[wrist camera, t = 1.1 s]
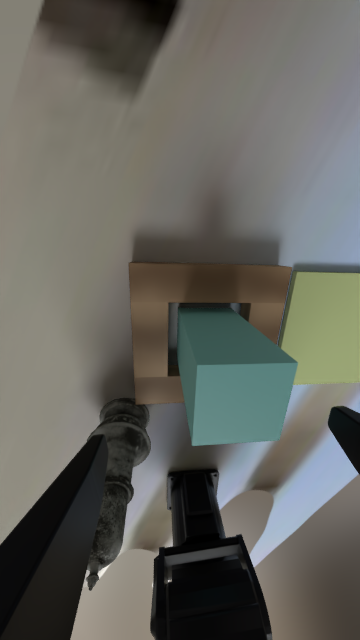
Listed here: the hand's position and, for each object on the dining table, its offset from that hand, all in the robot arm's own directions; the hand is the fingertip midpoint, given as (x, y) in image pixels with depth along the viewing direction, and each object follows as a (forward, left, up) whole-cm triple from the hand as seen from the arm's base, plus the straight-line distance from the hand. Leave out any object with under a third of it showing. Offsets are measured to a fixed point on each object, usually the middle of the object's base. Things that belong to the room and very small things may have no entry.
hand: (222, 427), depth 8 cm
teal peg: (-1, -2, -12) cm, 12 cm away
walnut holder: (-1, -2, -12) cm, 12 cm away
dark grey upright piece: (-11, +6, -12) cm, 18 cm away
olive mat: (-1, -16, -12) cm, 20 cm away
